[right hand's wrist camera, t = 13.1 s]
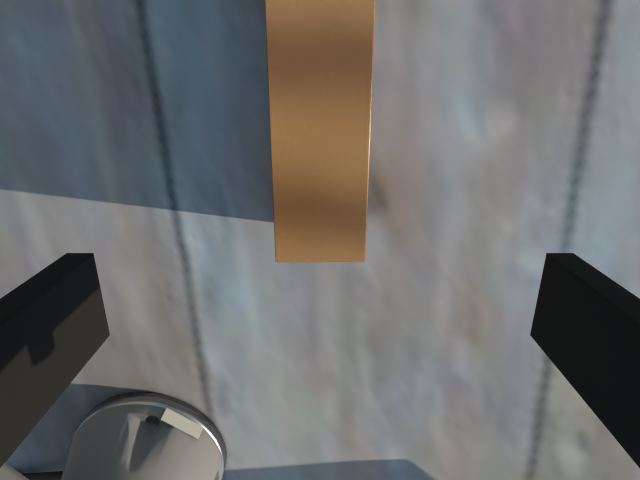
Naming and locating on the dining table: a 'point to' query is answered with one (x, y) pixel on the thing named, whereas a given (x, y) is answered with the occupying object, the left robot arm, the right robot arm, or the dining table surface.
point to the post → (320, 126)
